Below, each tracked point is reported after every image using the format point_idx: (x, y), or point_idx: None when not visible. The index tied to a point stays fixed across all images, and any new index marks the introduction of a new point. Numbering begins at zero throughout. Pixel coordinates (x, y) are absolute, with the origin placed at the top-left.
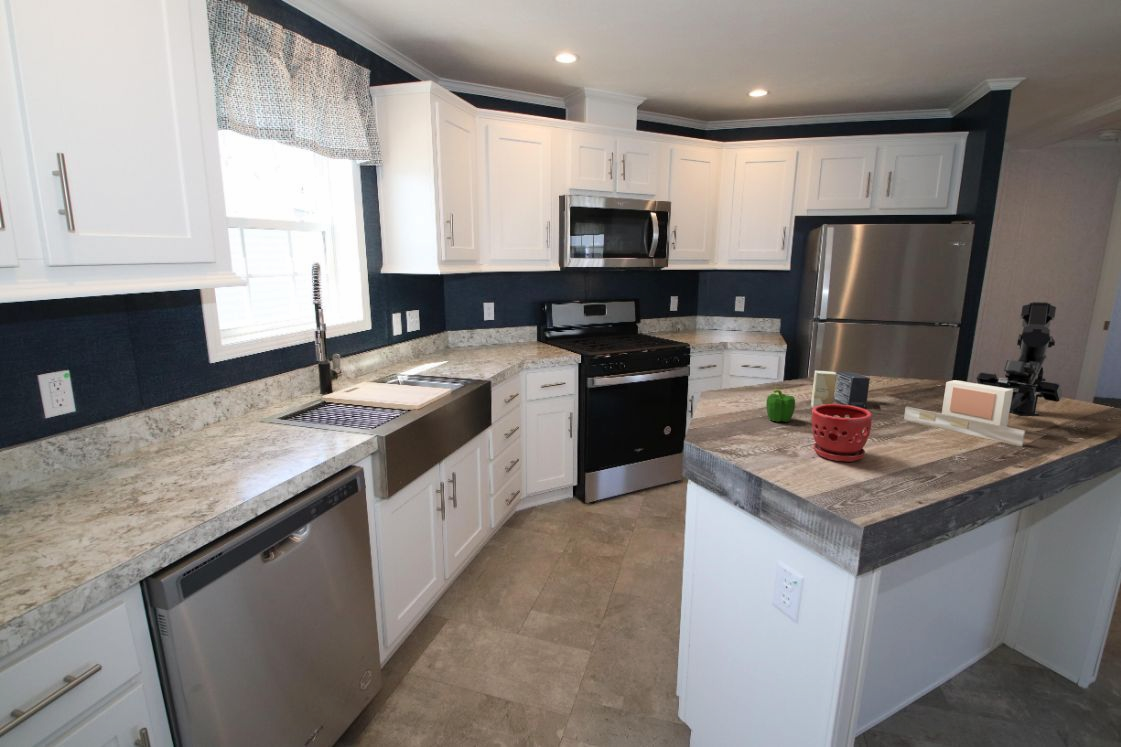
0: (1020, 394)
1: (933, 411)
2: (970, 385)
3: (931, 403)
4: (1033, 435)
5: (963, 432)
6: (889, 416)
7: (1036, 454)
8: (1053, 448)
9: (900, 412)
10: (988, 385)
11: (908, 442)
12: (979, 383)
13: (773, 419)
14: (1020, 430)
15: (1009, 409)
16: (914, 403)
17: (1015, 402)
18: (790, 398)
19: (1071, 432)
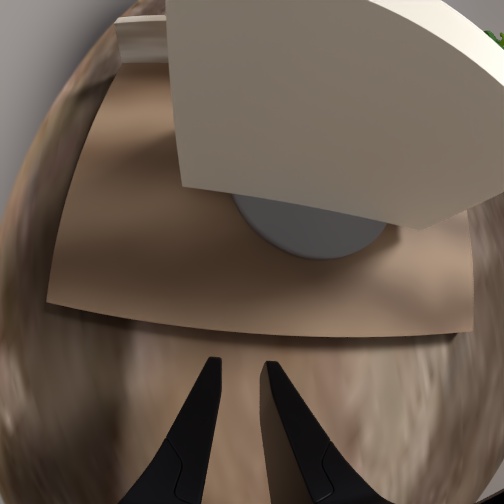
0: (159, 496)
1: (470, 325)
2: (448, 8)
3: (468, 478)
4: (83, 225)
5: None
6: (489, 205)
7: (92, 81)
8: (41, 183)
9: (500, 281)
10: (429, 30)
11: None
12: (495, 494)
13: None
14: (128, 17)
15: (175, 113)
16: (496, 430)
17: (184, 408)
18: (491, 36)
19: (52, 488)
